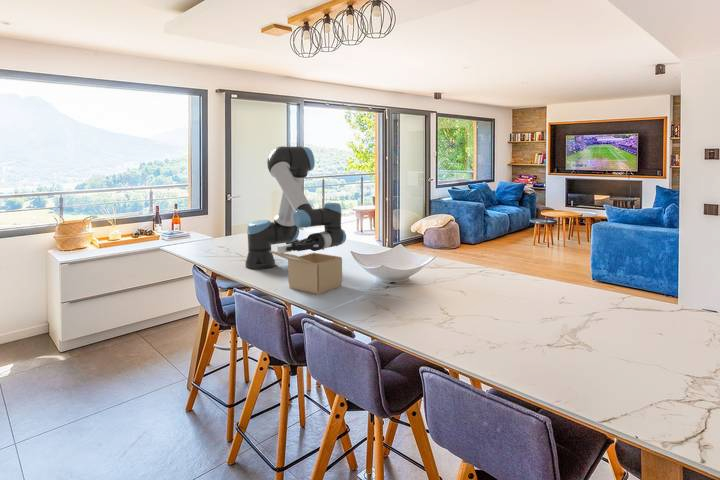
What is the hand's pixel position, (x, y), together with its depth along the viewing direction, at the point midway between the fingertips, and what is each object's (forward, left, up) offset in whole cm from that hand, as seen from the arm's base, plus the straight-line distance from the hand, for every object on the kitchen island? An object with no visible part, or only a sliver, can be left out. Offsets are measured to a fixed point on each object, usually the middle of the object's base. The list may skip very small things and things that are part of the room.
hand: (278, 250), depth 186 cm
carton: (0, +21, -20) cm, 29 cm away
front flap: (0, +12, -7) cm, 14 cm away
